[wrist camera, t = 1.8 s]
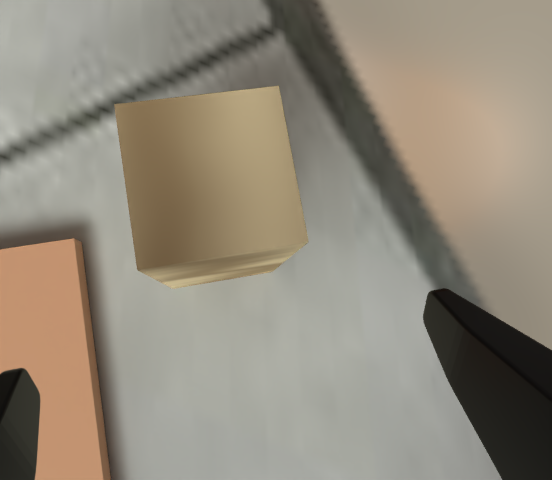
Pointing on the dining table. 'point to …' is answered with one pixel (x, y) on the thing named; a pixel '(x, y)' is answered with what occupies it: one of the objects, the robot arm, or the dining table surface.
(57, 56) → the dining table surface
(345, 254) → the dining table surface
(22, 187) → the dining table surface
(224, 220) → the maple block
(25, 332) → the terracotta tile
